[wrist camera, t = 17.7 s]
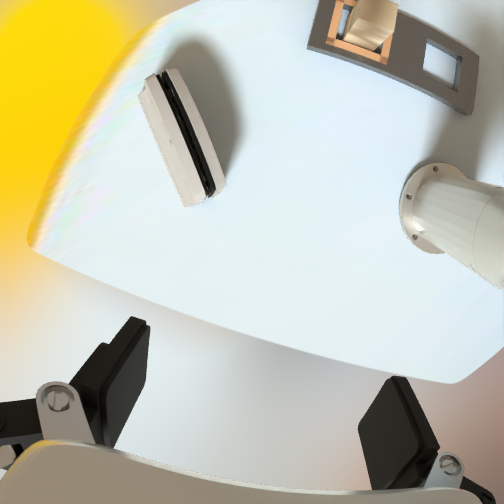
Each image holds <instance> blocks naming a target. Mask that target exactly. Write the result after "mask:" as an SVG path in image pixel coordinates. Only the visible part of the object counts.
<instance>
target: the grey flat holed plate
mask: <svg viewBox="0 0 504 504" xmlns="http://www.w3.org/2000/svg"><path fill="white" fill-rule="evenodd" d="M357 1H358V0H319V4H318V8H317V12H316V16H315V19H314V23H313V27H312V31H311V34H310V38H309V42H308V46H307V49H308V50H312V51H315V52H319V53H322V54H325V55H329V56H332V57H335V58H338V59H341V60H344V61H347V62H350V63H353V64H356V65H359V66H361V67H364V68H367V69H369V70H372V71H375V72H377V73H380V74H382V75H385V76H387V77H389V78H392V79H394V80H397V81H399V82H401V83H403V84H406V85H408V86H410V87H412V88H414V89H417V90H419V91H421V92H423V93H425V94H427V95H429V96H431V97H433V98H435V99H437V100H439V101H441V102H443V103H445V104H447V105H449V106H450V107H452V108H454V109H456V110H458V111H459V112H461V113H463V114H465V115H472V111H473V104H474V98H475V90H476V83H477V74H478V64H479V56H478V55H476V54H475V53H473V52H472V51H470V50H469V49H467V48H465V47H464V46H462V45H460V44H459V43H457V42H455V41H454V40H452V39H450V38H448V37H447V36H445V35H443V34H441V33H439V32H437V31H435V30H434V29H432V28H430V27H428V26H426V25H424V24H422V23H420V22H418V21H416V20H413V19H411V18H409V17H407V16H405V15H403V14H400V13H398V12H397V17H396V23H395V29H394V32H393V33H392V34H391V35H390V36H389V37H388V38H387V39H386V40H385V41H383V42H382V43H381V44H380V46H379V51H378V54H377V53H374V52H372V51H369V50H366V49H364V48H361V47H358V46H355V45H353V44H350V43H347V42H344V41H341V40H338V39H335V38H336V34H337V30H338V26H339V22H340V17H341V13H342V9H346V10H349V11H352V10H353V8H354V6H355V5H356V3H357ZM426 43H428V44H430V45H432V46H434V47H436V48H438V49H439V50H441V51H443V52H445V53H447V54H449V55H450V56H452V57H454V58H456V59H457V66H456V73H455V81H454V87H453V90H452V89H450V88H448V87H447V86H445V85H443V84H441V83H439V82H437V81H435V80H433V79H431V78H429V77H427V76H425V75H423V74H422V69H423V63H424V57H425V50H426Z"/></svg>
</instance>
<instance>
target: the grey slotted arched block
mask: <svg viewBox="0 0 504 504" xmlns="http://www.w3.org/2000/svg"><path fill="white" fill-rule="evenodd" d="M138 98H139V101H140V104H141V106H142V108H143V111H144V113H145V116H146V118H147V121H148V123H149V126H150V128H151V131H152V133H153V135H154V138H155V140H156V143H157V145H158V147H159V150H160V152H161V155H162V157H163V159H164V162H165V164H166V166H167V169H168V171H169V173H170V176H171V178H172V180H173V183H174V185H175V187H176V189H177V192H178V194H179V196H180V198H181V201H182V203H183V205H184V207H188V206H192V205H196V204H200V203H203V201H204V199H205V198H206V196H207V195H208V198H209V197H212V198H213V197H215V196H216V195H218V194H219V193H220V192H221V191H222V190H223V188H224V187H225V186H226V180H225V177H224V175H223V172H222V169H221V166H220V163H219V160H218V158H217V155H216V153H215V150H214V147H213V145H212V142H211V140H210V137H209V135H208V132H207V130H206V127H205V125H204V123H203V120H202V118H201V116H200V113H199V111H198V109H197V107H196V104H195V102H194V100H193V98H192V96H191V94H190V92H189V90H188V88H187V86H186V84H185V82H184V80H183V78H182V76H181V74H180V72H179V71H178V69H177V68H169V69H165V72H163V73H162V78H161V77H160V75H159V74H158V75H155V74H152V75H151V76H149V77H147V78H146V79H145V89H144V90H143V91H142V92H141V93H140V94H139V95H138ZM183 127H184V128H183ZM184 129H185V130H184ZM185 132H186V133H185ZM186 134H187V135H186ZM187 136H188V137H187ZM188 139H189V140H188ZM189 141H190V142H189ZM190 143H191V145H190ZM191 146H192V147H191Z"/></svg>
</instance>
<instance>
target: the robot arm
mask: <svg viewBox="0 0 504 504" xmlns="http://www.w3.org/2000/svg"><path fill="white" fill-rule="evenodd" d="M433 167H434V170H433ZM407 194H408V197H407V198H406V196H407ZM399 215H400V221H401V225H402V228H403V231H404V233H405V235H406V236H407V238H408V239H409V240H410V242H411V243H412V244H413V245H415V246H416V247H417V248H419V249H420V250H422V251H424V252H427V253H430V254H442V253H447V254H448V255H450V256H451V257H453V258H454V259H456V260H457V261H459V262H460V263H462V264H463V265H465V266H466V267H468V268H469V269H470V270H472V271H473V272H475V273H476V274H478V275H479V276H480V277H482V278H483V279H485V280H486V281H488V282H489V283H491V284H492V285H493V286H495V287H497V288H499V289H502V290H504V187H502V186H497V185H493V184H489V183H484V182H479V181H475V180H470V179H467V177H466V176H465V175H464V174H463V173H462V172H461V171H460V170H459V169H458V168H456V167H455V166H452V165H450V164H447V163H431V164H427V165H425V166H423V167H421V168H419V169H418V170H417V171H416V172H414V173H413V174H412V176H411V177H410V178H409V179H408V181H407V183H406V185H405V186H404V189H403V192H402V195H401V199H400V205H399ZM413 235H414V236H413ZM412 236H413V237H412ZM149 337H150V326H148V325H146V321H145V320H142V319H139V318H136V317H133V316H131V317H130V318H129V319H128V321H127V322H126V323H125V324H124V326H123V327H122V328H121V329H120V331H119V332H118V333H117V335H116V336H115V337H114V338H113V340H112V341H111V342H110V344H107V343H104V342H103V343H101V344H100V345H99V346H98V347H97V348H96V350H95V351H94V352H93V353H92V355H91V356H90V357H89V358H88V360H87V361H86V362H85V363H84V365H83V366H82V367H81V368H80V370H79V371H78V372H77V374H76V375H75V376H74V377H73V379H72V380H71V381H70V383H69V384H67V383H63V382H49V383H46V384H44V385H42V386H41V387H40V388H39V389H38V391H37V393H36V398H34V399H26V400H19V401H11V402H1V403H0V469H1V468H2V469H5V470H7V472H6V473H5V475H4V476H3V478H2V479H1V481H0V504H496V502H495V498H494V496H493V494H492V493H491V492H489V491H488V490H486V489H484V488H483V487H481V486H479V485H478V484H476V483H474V482H473V481H471V480H469V479H468V478H466V477H464V476H463V474H464V465H463V463H462V461H461V460H460V459H459V457H457V456H456V455H455V454H452V453H450V452H443V453H440V454H439V455H438V452H437V451H438V450H439V449H440V446H439V444H438V442H437V439H436V437H435V435H434V433H433V431H432V429H431V427H430V424H429V422H428V420H427V418H426V416H425V414H424V412H423V410H422V408H421V406H420V404H419V402H418V400H417V398H416V396H415V394H414V392H413V390H412V388H411V386H410V384H409V382H408V380H407V378H406V377H400V376H392V377H391V378H390V379H387V380H386V381H385V383H384V385H383V386H382V388H381V390H380V391H379V393H378V395H377V396H376V398H375V400H374V401H373V403H372V404H371V406H370V407H369V409H368V410H367V412H366V413H365V415H364V417H363V418H362V419H361V421H360V423H359V425H358V433H359V437H360V440H361V445H362V449H363V453H364V457H365V461H366V465H367V470H368V474H369V478H370V483H371V487H372V490H368V491H337V490H336V491H335V490H312V489H297V488H287V487H277V486H268V485H262V484H255V483H248V482H241V481H236V480H230V479H225V478H220V477H215V476H210V475H205V474H202V473H197V472H193V471H189V470H185V469H181V468H177V467H173V466H170V465H166V464H163V463H159V462H155V461H152V460H149V459H146V458H143V457H139V456H136V455H133V454H130V453H126V452H123V451H120V450H117V449H114V446H115V444H116V441H117V440H118V437H119V435H120V433H121V431H122V429H123V427H124V425H125V423H126V421H127V419H128V417H129V415H130V413H131V411H132V409H133V407H134V405H135V403H136V401H137V399H138V397H139V395H140V393H141V391H142V389H143V387H144V384H145V381H146V371H147V370H146V369H147V358H148V347H149Z"/></svg>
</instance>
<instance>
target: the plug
mask: <svg viewBox="0 0 504 504" xmlns="http://www.w3.org/2000/svg"><path fill="white" fill-rule="evenodd" d="M397 11H398V4H396V3H393V2H391V1H389V0H358V1H357V3H356V5H355V6H354V8H353V10H352V11H351V13H350V15H349V16H348V18H347V20H346V24H345V28H344V32H343V36H342V40H341V41H344V42H347V43H350V44H353V45H355V46H358V47H361V48H364V49H366V50H369V51H372V52H373V51H374V50H375V49H376V48H377V47H378V46H379V45H380V44H381V43H382V42H383V41H385V40H386V39H387V38H388V37H389V36H390V35H391V34H392V33H393V32H394V29H395V23H396V17H397Z"/></svg>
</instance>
